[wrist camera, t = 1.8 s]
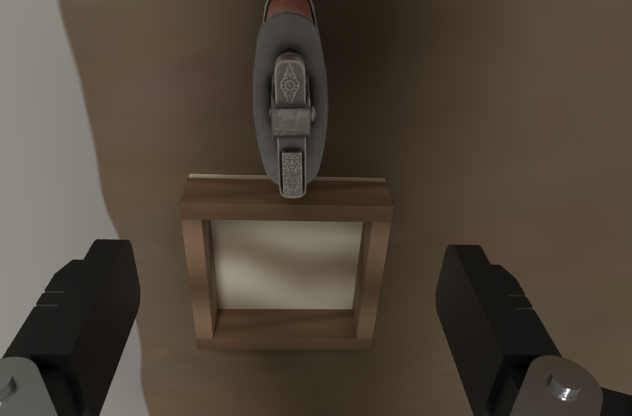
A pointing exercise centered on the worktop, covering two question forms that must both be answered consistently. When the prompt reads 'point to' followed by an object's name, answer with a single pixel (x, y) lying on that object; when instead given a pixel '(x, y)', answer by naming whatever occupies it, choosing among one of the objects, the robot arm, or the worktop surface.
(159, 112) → the worktop surface
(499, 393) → the robot arm
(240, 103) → the worktop surface
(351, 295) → the walnut holder
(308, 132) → the lighter
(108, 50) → the worktop surface
